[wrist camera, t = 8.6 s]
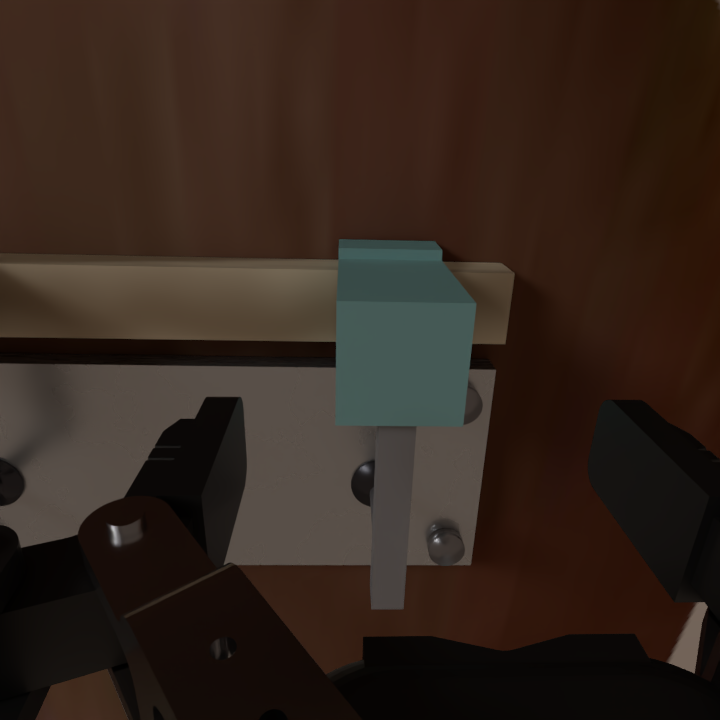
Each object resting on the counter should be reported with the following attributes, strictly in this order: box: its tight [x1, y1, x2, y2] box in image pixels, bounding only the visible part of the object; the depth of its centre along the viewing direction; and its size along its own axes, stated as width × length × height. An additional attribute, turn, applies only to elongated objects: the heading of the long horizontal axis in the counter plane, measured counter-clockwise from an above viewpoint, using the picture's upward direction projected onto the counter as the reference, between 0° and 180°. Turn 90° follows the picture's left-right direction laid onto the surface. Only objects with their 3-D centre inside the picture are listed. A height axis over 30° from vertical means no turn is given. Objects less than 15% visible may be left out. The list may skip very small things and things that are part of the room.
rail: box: [0, 253, 515, 344], centre depth 21 cm, size 12×28×8 cm, turn 89°
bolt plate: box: [0, 353, 496, 566], centre depth 26 cm, size 11×26×2 cm, turn 89°
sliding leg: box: [335, 239, 477, 609], centre depth 21 cm, size 12×4×8 cm, turn 179°
